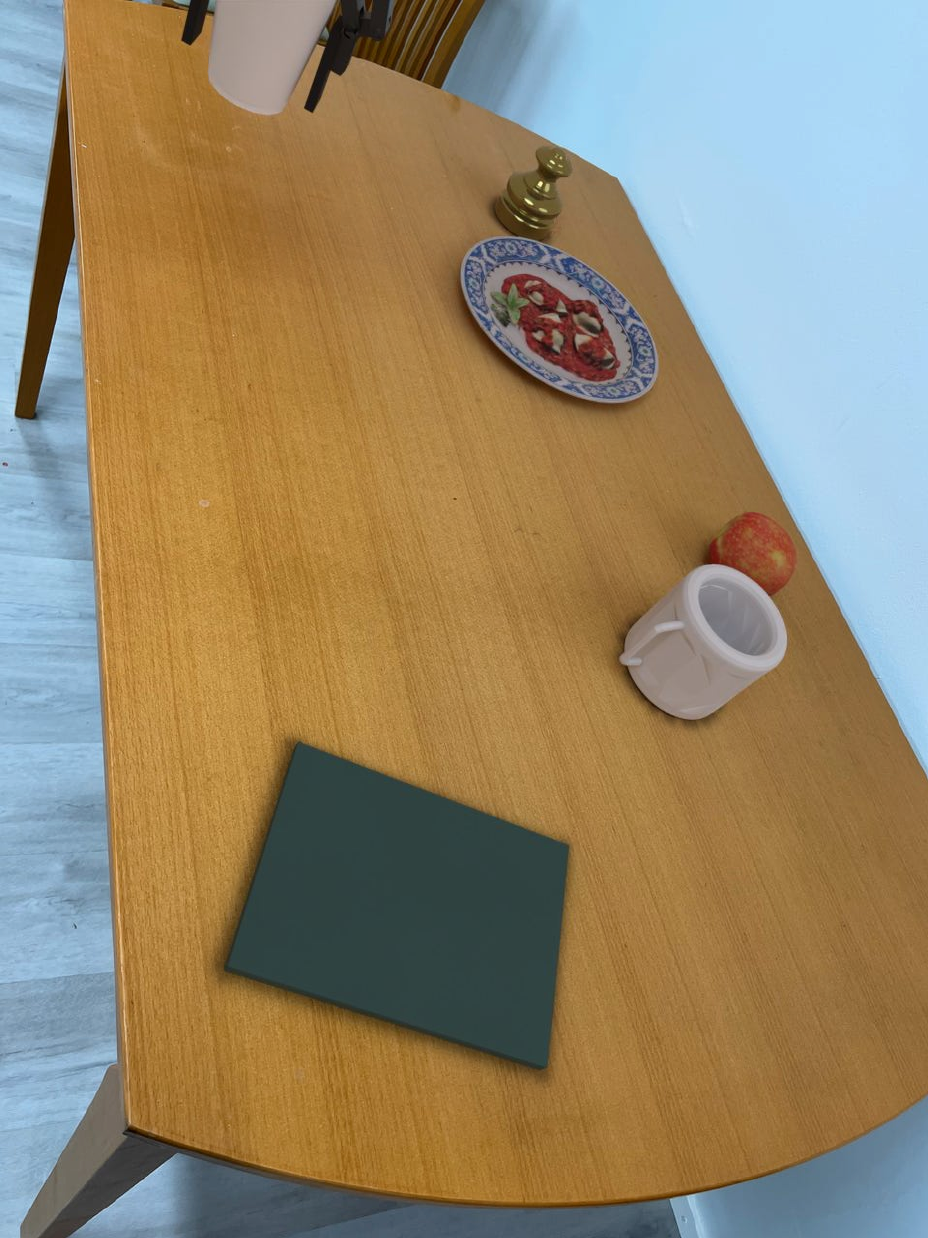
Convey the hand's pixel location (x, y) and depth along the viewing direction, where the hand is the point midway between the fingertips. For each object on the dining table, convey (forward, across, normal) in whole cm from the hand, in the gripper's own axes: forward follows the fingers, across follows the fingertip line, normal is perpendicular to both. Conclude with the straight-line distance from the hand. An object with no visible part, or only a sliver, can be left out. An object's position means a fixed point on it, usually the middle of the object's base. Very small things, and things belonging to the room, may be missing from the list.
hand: (252, 70), depth 76 cm
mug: (+20, -52, +23) cm, 60 cm away
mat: (+20, -33, +52) cm, 64 cm away
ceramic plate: (+20, -37, -19) cm, 46 cm away
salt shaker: (+20, -30, -37) cm, 52 cm away
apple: (+20, -60, +7) cm, 64 cm away
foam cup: (+2, 0, 0) cm, 2 cm away
